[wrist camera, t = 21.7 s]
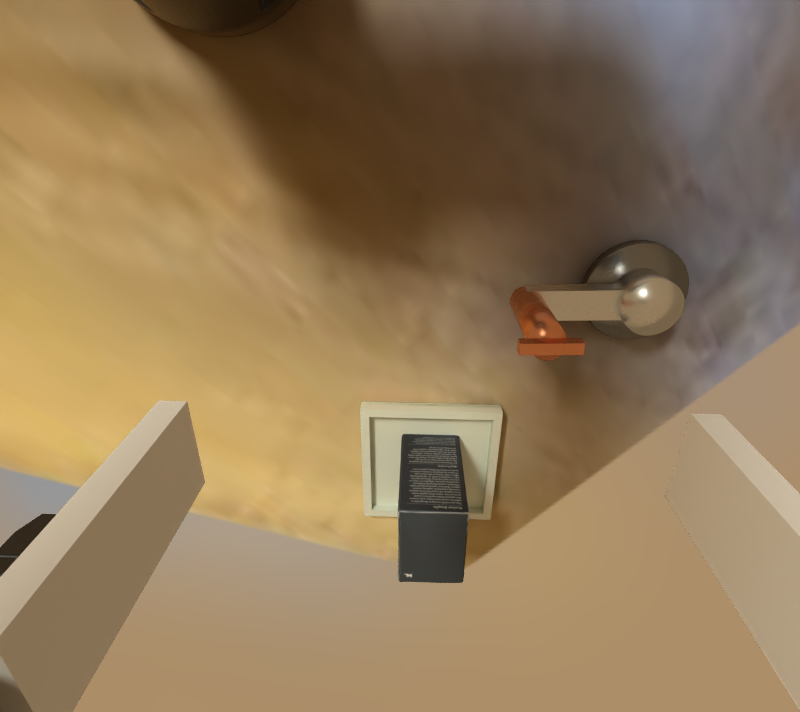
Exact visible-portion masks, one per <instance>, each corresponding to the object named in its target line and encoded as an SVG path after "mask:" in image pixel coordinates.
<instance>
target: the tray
mask: <svg viewBox="0 0 800 712" xmlns="http://www.w3.org/2000/svg"><path fill="white" fill-rule="evenodd" d="M502 417H503V411H502V408H501V405H488V404H447V403H405V402H364V401H362V403H361V408H360V419H361V446H362V473H363V500H364V516H383V517H398V514H397V512H398V499H399V480H400V461H401V439H402V435H403V434H430V435H457V436H459V440H460V448H461V455H462V463H463V471H464V479H465V487H466V495H467V502H468V509H469V519H478V520H491V512H492V503H493V495H494V486H495V477H496V469H497V460H498V452H499V443H500V434H501V426H502Z"/></svg>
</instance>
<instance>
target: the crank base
mask: <svg viewBox="0 0 800 712" xmlns="http://www.w3.org/2000/svg"><path fill="white" fill-rule="evenodd" d="M638 268H649V269H652V270H655V271H657V272H658V273H660V274H661V275H663V276H664V277H665V278H667V279H668V280H670V281H671V282H673V283H674V284H676V285H677V286H678V287H679V288H680V289H681V291H682V293H683V295H684V300H685V299H686V296H687V292H688V286H689V279H688V273H687V269H686V267H685V265H684V263H683V261H682V260H681V259H680V257H679V256H678V255H677V254H675V253H674V252H673V251H671V250H670V249H668V248H666V247H664V246H662V245H661V244H658V243H656V242H652V241H646V240H634V241H629V242H625V243H621V244H619V245H617V246H614V247H612V248H611V249H609V250H607V251H606V252H605V253H603V254H602V255H601V256H600V257H599V258H597V259H596V261H595V262H594V263H593V264H592V265H591V267H590V268H589V270H588V271H587V273H586V275H585V277H584V280H583V283H582V284H614V283H615V282H616V281H617V280H618V279H619V278H620V277H621V276H622V275H623V274H625V273H627V272H629V271H631V270H634V269H638ZM590 321H591V322H592V324H593V325H594V326H595V327H596V328H597V329H598V330H600V331H601V332H602V333H604V334H606V335H608V336H611V337H614V338H619V339H634V338H640V337H644V335H639V334H636V333H634V332H632V331H631V330H630V329H629V328H628V327H627V326H626V325H625V324H624V323H623V322H622V321H621V320H590Z"/></svg>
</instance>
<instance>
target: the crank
mask: <svg viewBox="0 0 800 712" xmlns="http://www.w3.org/2000/svg"><path fill="white" fill-rule="evenodd" d="M510 305H511V308H512V310H513V312H514V314H515V316H516V319H517V321H518V323H519V325H520V327H521V330H522V332H523V334H524V336H525V338H524V339H518V346H517V351H518V353H519V355H534V356H535V357H536V358H538V359H540V360H545V361H550V360H554V359H557V358H558V357H560V356H561V355H584V350H585V342H584V341H583V339H582V338H568V337H567V335H566V333H565V332H564V330H563V328H562V327H561V325H560V324H559V322H558V321H589V320H621V321H622V322H623V323H624V324H625V325H626V326H627V327H628V328H629V329H630V330H631V331H632V332H634V333H636V334H639V335H644V336H650V335H656V334H660V333H662V332H664V331H666V330H668V329H669V328H671V327H672V326H673V325H674V324H675V323H676V322H677V321H678V320H679V318H680V316H681V315H682V312H683V310H684V305H685V300H684V295H683V293H682V291H681V289H680V288H679V287H678V286H677V285H676V284H674V283H673V282H671V281H670V280H668V279H667V278H665V277H664V276H663V275H661V274H660V273H658V272H657V271H655V270H652V269H649V268H638V269H634V270H631V271H629V272H627V273H625V274H623V275H622V276H621V277H620V278H619V279H618V280H617V281H616V282H615V283H614V284H541V285H524V286H523V287H520V288H518V289H517V290H515V291H514V293H513V294H512V296H511V299H510Z"/></svg>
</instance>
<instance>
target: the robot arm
mask: <svg viewBox="0 0 800 712" xmlns="http://www.w3.org/2000/svg"><path fill="white" fill-rule="evenodd" d="M134 1H135V2H137V3H138V4H139V5H141V6H142V7H143V8H145V9H146V10H148V11H149V12H150V13H152V14H153V15H155V16H157V17H159V18H160V19H162V20H164V21H166V22H168V23H170V24H173V25H175V26H178V27H180V28H183V29H186V30H189V31H192V32H196V33H199V34H203V35H208V36H215V37H233V36H240V35H245V34H249V33H252V32H255V31H257V30H259V29H262V28H264V27H266V26H267V25H269V24H271V23H272V22H274V21H275V20H277V19H278V18H279V17H281V16H282V15H283V14H284V13H285V12H286V11H287V10H288V9H289V8H291V6H292V5H293V4H294V3H295V2H296V1H297V0H134ZM204 483H205V480H204V476H203V471H202V467H201V462H200V457H199V453H198V448H197V444H196V439H195V435H194V430H193V426H192V421H191V417H190V412H189V408H188V403H187V401H158V402H157V403H156V404H155V405H154V406H153V408H152V409H151V410H150V411H149V412H148V413H147V414H146V415H145V416H144V418H143V419H142V420H141V421H140V422H139V423H138V424H137V425H136V426H135V428H134V429H133V430H132V431H131V432H130V433H129V434H128V435H127V436H126V438H125V439H124V440H123V441H122V442H121V443H120V444H119V445H118V447H117V448H116V449H115V450H114V451H113V452H112V453H111V454H110V455H109V457H108V458H107V459H106V460H105V461H104V462H103V463H102V464H101V465H100V467H99V468H98V469H97V470H96V471H95V472H94V473H93V474H92V475H91V477H90V478H89V479H88V480H87V481H86V482H85V483H84V484H83V486H82V487H81V488H80V489H79V490H78V491H77V492H76V493H75V494H74V496H73V497H72V498H71V499H70V500H69V501H68V502H67V503H66V505H65V506H64V507H63V508H62V509H61V510H60V511H59V512H58V513H57V514H41V515H40V516H38V517H37V518H35V519H34V520H32V521H31V522H29V523H28V524H26V525H25V526H23V527H22V528H21V529H19V530H18V531H16V532H15V533H14V534H13V535H12V536H11V537H10V538H9V539H8V540H7V541H6V542H5V543H4V544H3V545H2V546H1V547H0V712H73V710H74V708H75V707H76V705H77V703H78V701H79V700H80V698H81V696H82V694H83V693H84V691H85V689H86V688H87V686H88V684H89V682H90V680H91V679H92V677H93V675H94V674H95V672H96V670H97V669H98V667H99V665H100V663H101V662H102V660H103V658H104V656H105V655H106V653H107V651H108V650H109V648H110V646H111V644H112V643H113V641H114V639H115V637H116V635H117V634H118V632H119V630H120V629H121V627H122V625H123V623H124V622H125V620H126V618H127V617H128V615H129V613H130V611H131V609H132V608H133V606H134V604H135V602H136V601H137V599H138V597H139V596H140V594H141V592H142V591H143V589H144V587H145V585H146V584H147V582H148V580H149V578H150V577H151V575H152V573H153V572H154V570H155V568H156V566H157V565H158V563H159V561H160V559H161V558H162V556H163V554H164V552H165V551H166V549H167V547H168V546H169V544H170V542H171V540H172V539H173V537H174V535H175V533H176V532H177V530H178V528H179V526H180V525H181V523H182V521H183V520H184V518H185V516H186V514H187V513H188V511H189V509H190V507H191V506H192V504H193V502H194V501H195V499H196V497H197V495H198V494H199V492H200V490H201V488H202V487H203V485H204ZM665 497H666V499H667V500H668V502H669V503H670V505H671V507H672V508H673V510H674V511H675V513H676V515H677V516H678V518H679V519H680V521H681V523H682V524H683V525H684V527H685V529H686V531H687V532H688V534H689V535H690V537H691V538H692V540H693V542H694V543H695V545H696V546H697V548H698V549H699V551H700V553H701V554H702V556H703V558H704V559H705V561H706V562H707V564H708V565H709V567H710V569H711V570H712V572H713V574H714V575H715V577H716V578H717V580H718V581H719V583H720V584H721V586H722V587H723V589H724V591H725V592H726V594H727V596H728V597H729V599H730V600H731V602H732V604H733V605H734V607H735V608H736V610H737V612H738V613H739V615H740V616H741V618H742V619H743V621H744V623H745V624H746V626H747V628H748V629H749V631H750V632H751V634H752V636H753V637H754V639H755V640H756V642H757V644H758V645H759V647H760V648H761V650H762V651H763V653H764V655H765V656H766V658H767V659H768V661H769V662H770V664H771V666H772V667H773V669H774V671H775V672H776V674H777V675H778V677H779V679H780V680H781V682H782V683H783V685H784V686H785V688H786V690H787V691H788V693H789V694H790V696H791V698H792V699H793V701H794V702H795V704H796V706H797V707H798V709H799V710H800V494H799V493H798V492H797V491H796V490H795V489H794V488H793V487H792V486H791V485H790V484H789V483H788V482H787V481H786V480H785V479H784V478H783V477H782V476H781V475H780V474H779V472H778V471H776V469H775V468H774V467H773V466H771V464H770V463H769V462H768V461H767V460H766V459H765V458H764V457H763V456H762V455H761V454H760V453H759V452H758V451H757V450H756V449H755V448H754V447H753V446H752V445H751V444H750V443H749V442H748V441H747V440H746V439H745V438H744V437H743V436H742V435H741V434H740V433H739V432H738V431H737V430H736V429H735V428H734V427H733V426H732V425H731V424H730V423H729V422H728V420H727V419H725V418H724V416H723V415H722V414H691V416H690V419H689V422H688V425H687V428H686V431H685V434H684V437H683V441H682V444H681V447H680V450H679V453H678V456H677V460H676V462H675V466H674V469H673V472H672V475H671V478H670V481H669V484H668V488H667V491H666V494H665Z"/></svg>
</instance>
